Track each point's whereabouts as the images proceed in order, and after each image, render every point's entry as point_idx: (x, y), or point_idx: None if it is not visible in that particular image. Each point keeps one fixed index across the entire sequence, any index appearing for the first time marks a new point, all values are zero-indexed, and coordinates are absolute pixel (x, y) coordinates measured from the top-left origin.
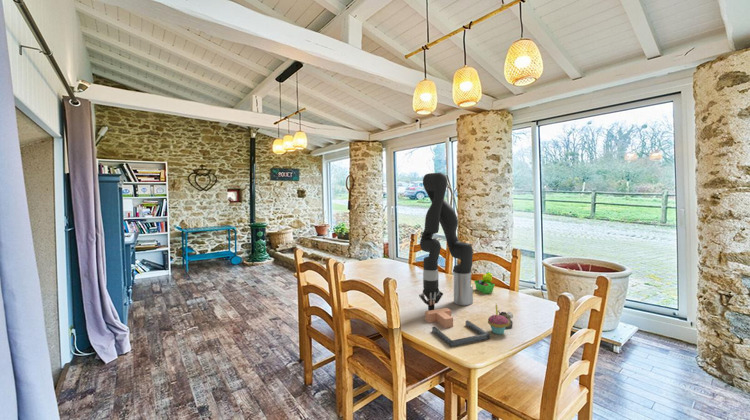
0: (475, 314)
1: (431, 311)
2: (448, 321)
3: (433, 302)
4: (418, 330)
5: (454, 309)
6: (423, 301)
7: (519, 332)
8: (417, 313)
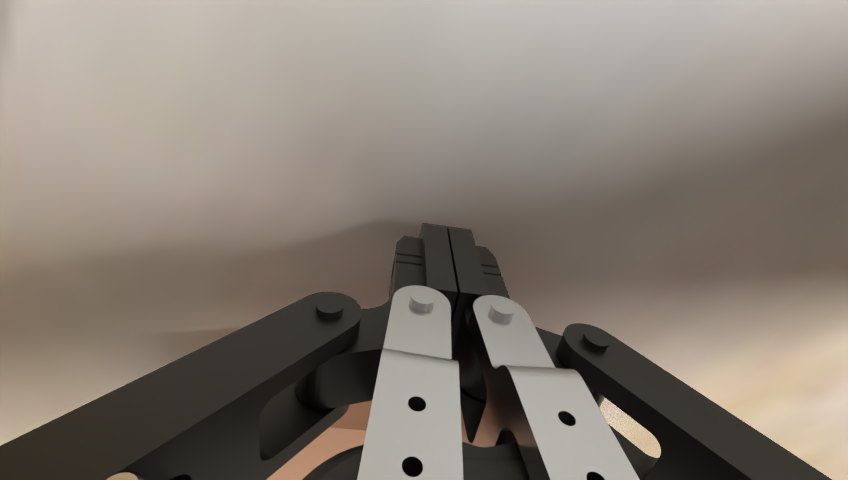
0: (803, 454)
1: (304, 459)
2: None
3: (471, 419)
4: None
5: (813, 272)
6: (252, 339)
7: None
8: (245, 110)
